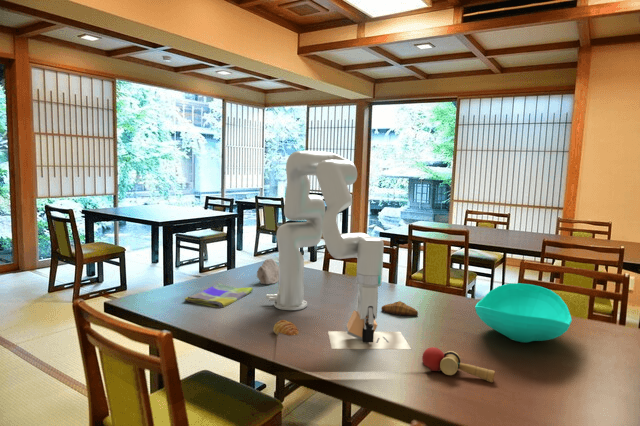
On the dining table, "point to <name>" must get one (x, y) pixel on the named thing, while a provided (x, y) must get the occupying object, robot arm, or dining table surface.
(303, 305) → the robot arm
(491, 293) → the table top decor
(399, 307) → the croissant
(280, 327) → the pastry
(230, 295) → the dish towel
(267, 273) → the pumice stone
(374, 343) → the ash board
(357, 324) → the block
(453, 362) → the kendama
